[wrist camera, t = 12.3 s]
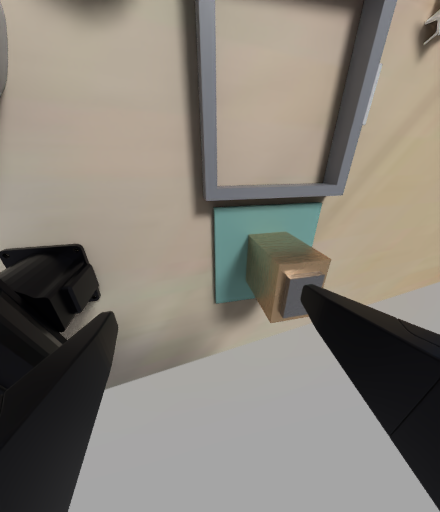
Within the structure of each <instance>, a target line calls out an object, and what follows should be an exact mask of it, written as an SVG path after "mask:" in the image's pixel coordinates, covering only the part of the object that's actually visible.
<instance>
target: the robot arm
mask: <svg viewBox="0 0 440 512" xmlns="http://www.w3.org/2000/svg"><path fill="white" fill-rule="evenodd" d="M75 248H77V249H78V250H79V251H76V250H75ZM6 254H8V255H9V256H7V255H6ZM0 259H1V260H2V262H3V264H4V265H5V267H6V269H5V270H3V271H2V272H0V512H68V509H69V506H70V503H71V499H72V496H73V492H74V489H75V486H76V483H77V479H78V476H79V473H80V469H81V466H82V463H83V459H84V456H85V453H86V449H87V446H88V443H89V439H90V436H91V433H92V429H93V426H94V423H95V419H96V416H97V413H98V409H99V406H100V403H101V400H102V396H103V393H104V390H105V386H106V383H107V380H108V376H109V373H110V369H111V366H112V361H113V355H114V350H115V345H116V339H117V334H118V324H117V321H116V318H115V315H114V313H113V312H112V311H108V312H102V313H100V314H99V315H98V316H97V317H95V318H94V319H93V320H92V321H90V322H89V323H88V324H87V325H86V326H84V327H83V328H82V329H81V330H79V331H78V332H77V333H76V334H75V335H73V336H72V337H71V338H70V339H68V340H66V339H65V338H64V337H63V336H62V335H61V334H60V333H59V332H64V331H65V329H66V328H67V327H68V325H69V324H70V322H71V321H72V319H73V318H74V316H75V315H76V314H78V313H81V312H82V310H83V309H84V307H85V306H86V304H87V303H88V302H91V301H97V300H98V299H99V298H100V296H101V295H100V292H99V289H98V286H99V284H98V281H97V279H96V276H95V273H94V270H93V267H92V265H91V264H89V262H88V259H87V256H86V253H85V251H84V248H83V246H81V245H80V244H67V245H53V246H40V247H26V248H12V249H4V250H2V251H0ZM93 295H95V296H96V297H94V296H93ZM300 300H301V303H302V305H303V307H304V308H305V310H306V312H307V314H308V316H309V317H310V319H311V321H312V323H313V325H314V326H315V328H316V330H317V331H318V333H319V334H320V336H321V337H322V338H323V340H324V342H325V343H326V345H327V346H328V347H329V349H330V350H331V352H332V353H333V355H334V356H335V358H336V359H337V361H338V362H339V363H340V365H341V367H342V368H343V369H344V371H345V372H346V374H347V375H348V377H349V378H350V380H351V381H352V382H353V384H354V385H355V387H356V388H357V390H358V391H359V393H360V394H361V396H362V397H363V399H364V400H365V402H366V403H367V405H368V406H369V408H370V409H371V410H372V412H373V413H374V415H375V416H376V418H377V419H378V421H379V422H380V424H381V425H382V427H383V428H384V430H385V431H386V432H387V434H388V435H389V437H390V438H391V440H392V441H393V443H394V445H395V446H396V447H397V449H398V450H399V452H400V453H401V455H402V456H403V458H404V459H405V461H406V462H407V464H408V465H409V467H410V468H411V469H412V471H413V472H414V474H415V475H416V477H417V478H418V480H419V481H420V483H421V484H422V486H423V487H424V489H425V490H426V492H427V493H428V494H429V496H430V497H431V499H432V500H433V502H434V503H435V505H436V506H437V508H438V509H439V511H440V334H437V333H434V332H431V331H429V330H426V329H423V328H421V327H418V326H416V325H413V324H411V323H408V322H406V321H403V320H401V319H397V318H395V317H393V316H390V315H388V314H385V313H383V312H381V311H378V310H375V309H373V308H371V307H368V306H366V305H363V304H361V303H358V302H356V301H353V300H351V299H348V298H346V297H343V296H341V295H338V294H336V293H333V292H331V291H328V290H326V289H323V288H321V287H318V286H316V285H314V284H307V285H304V286H303V289H302V293H301V297H300Z"/></svg>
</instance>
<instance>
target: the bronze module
mask: <svg viewBox="0 0 440 512" xmlns="http://www.w3.org/2000/svg"><path fill="white" fill-rule="evenodd" d="M330 262H331V259H330V258H328V257H327V256H325V255H324V254H322V253H320V252H319V251H317V250H315V249H314V248H312V247H311V246H309V245H307V244H306V243H304V242H302V241H301V240H299V239H298V238H296V237H294V236H293V235H291V234H290V233H288V232H273V233H261V234H249V235H248V250H247V266H246V282H247V284H248V285H249V287H250V289H251V291H252V292H253V294H254V296H255V297H256V299H257V301H258V302H259V304H260V306H261V308H262V309H263V311H264V313H265V314H266V316H267V318H268V320H269V321H270V323H274V322H280V321H286V320H292V319H297V318H303V317H309V316H308V314H307V312H306V310H305V308H304V307H303V305H302V303H301V300H300V297H301V293H302V289H303V286H304V285H307V284H314V285H316V286H318V287H321V288H323V286H324V282H325V279H326V276H327V272H328V269H329V265H330Z"/></svg>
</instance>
